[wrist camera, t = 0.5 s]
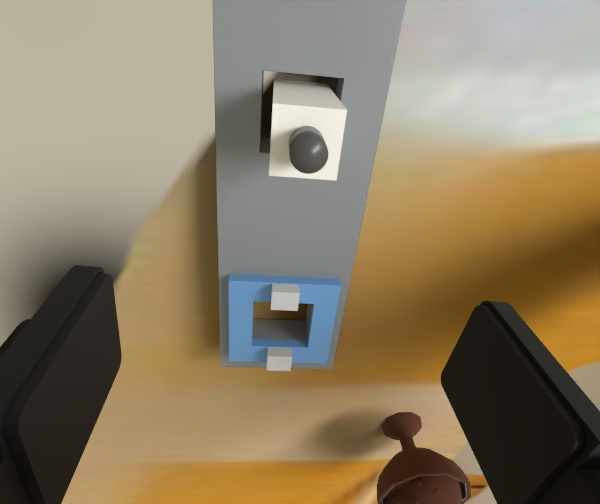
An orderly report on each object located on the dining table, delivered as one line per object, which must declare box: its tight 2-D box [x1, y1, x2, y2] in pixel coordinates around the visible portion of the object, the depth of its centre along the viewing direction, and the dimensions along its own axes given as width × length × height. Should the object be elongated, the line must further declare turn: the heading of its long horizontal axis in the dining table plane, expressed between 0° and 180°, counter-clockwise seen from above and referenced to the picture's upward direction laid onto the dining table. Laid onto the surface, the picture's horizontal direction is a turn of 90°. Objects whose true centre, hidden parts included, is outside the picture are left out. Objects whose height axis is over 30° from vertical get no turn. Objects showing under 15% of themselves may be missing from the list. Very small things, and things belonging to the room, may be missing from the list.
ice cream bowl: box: [377, 412, 471, 504], centre depth 46 cm, size 11×11×15 cm
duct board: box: [213, 0, 406, 371], centre depth 32 cm, size 12×34×5 cm, turn 175°
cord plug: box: [269, 79, 347, 181], centre depth 25 cm, size 4×4×12 cm
